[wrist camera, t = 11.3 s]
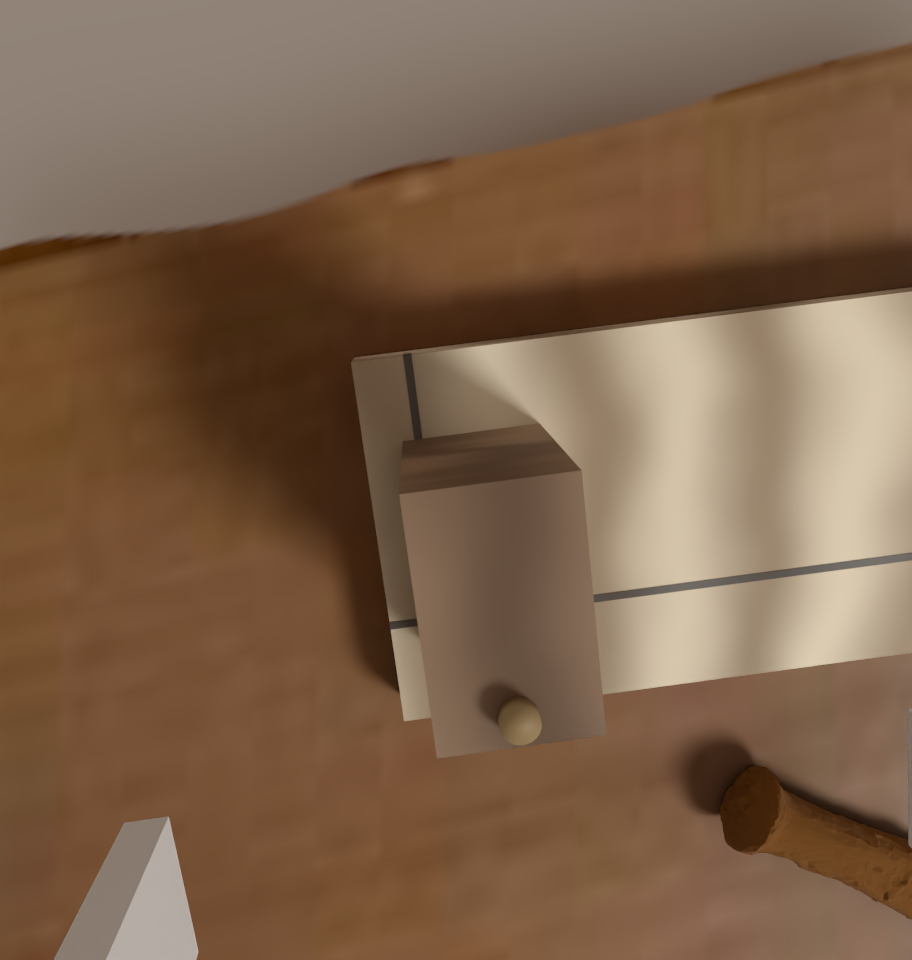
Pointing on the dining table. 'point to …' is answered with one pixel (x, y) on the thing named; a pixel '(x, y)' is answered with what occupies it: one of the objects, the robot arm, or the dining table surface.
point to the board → (691, 479)
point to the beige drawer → (502, 589)
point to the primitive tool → (816, 839)
